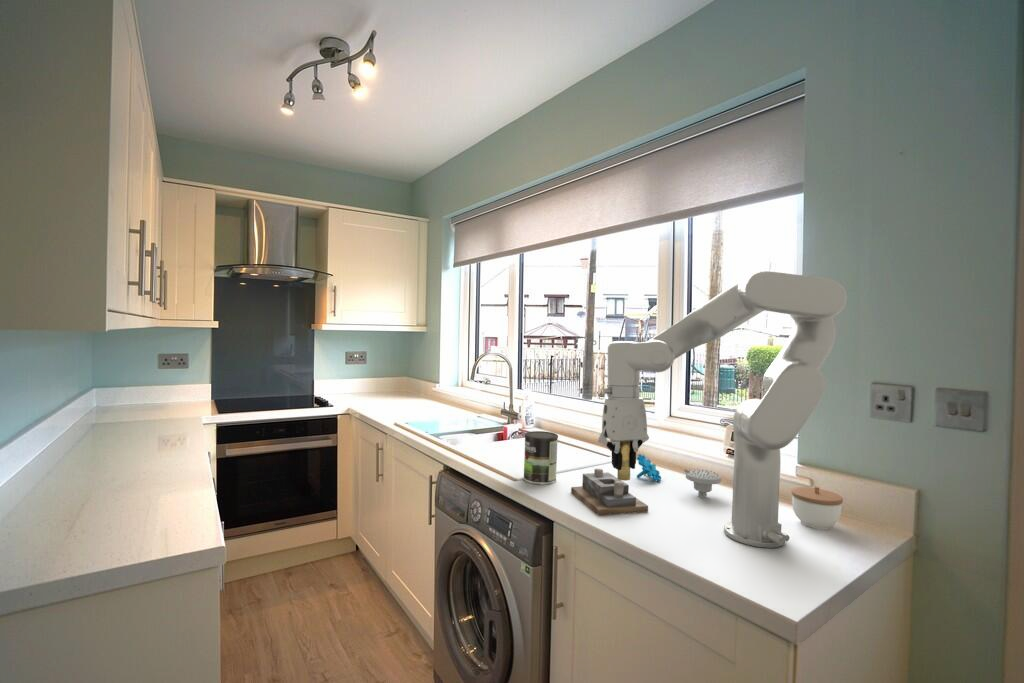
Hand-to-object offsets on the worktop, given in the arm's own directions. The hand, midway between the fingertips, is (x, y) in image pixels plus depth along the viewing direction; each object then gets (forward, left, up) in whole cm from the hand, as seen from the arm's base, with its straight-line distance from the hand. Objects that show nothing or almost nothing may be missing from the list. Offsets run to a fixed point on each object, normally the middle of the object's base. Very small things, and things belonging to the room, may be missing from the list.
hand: (623, 467), depth 118 cm
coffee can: (+36, +9, -14) cm, 40 cm away
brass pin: (0, 0, -3) cm, 3 cm away
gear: (+31, -26, -14) cm, 43 cm away
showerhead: (+13, -32, -14) cm, 38 cm away
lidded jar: (-11, -47, -14) cm, 50 cm away
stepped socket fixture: (+14, -3, -14) cm, 20 cm away
